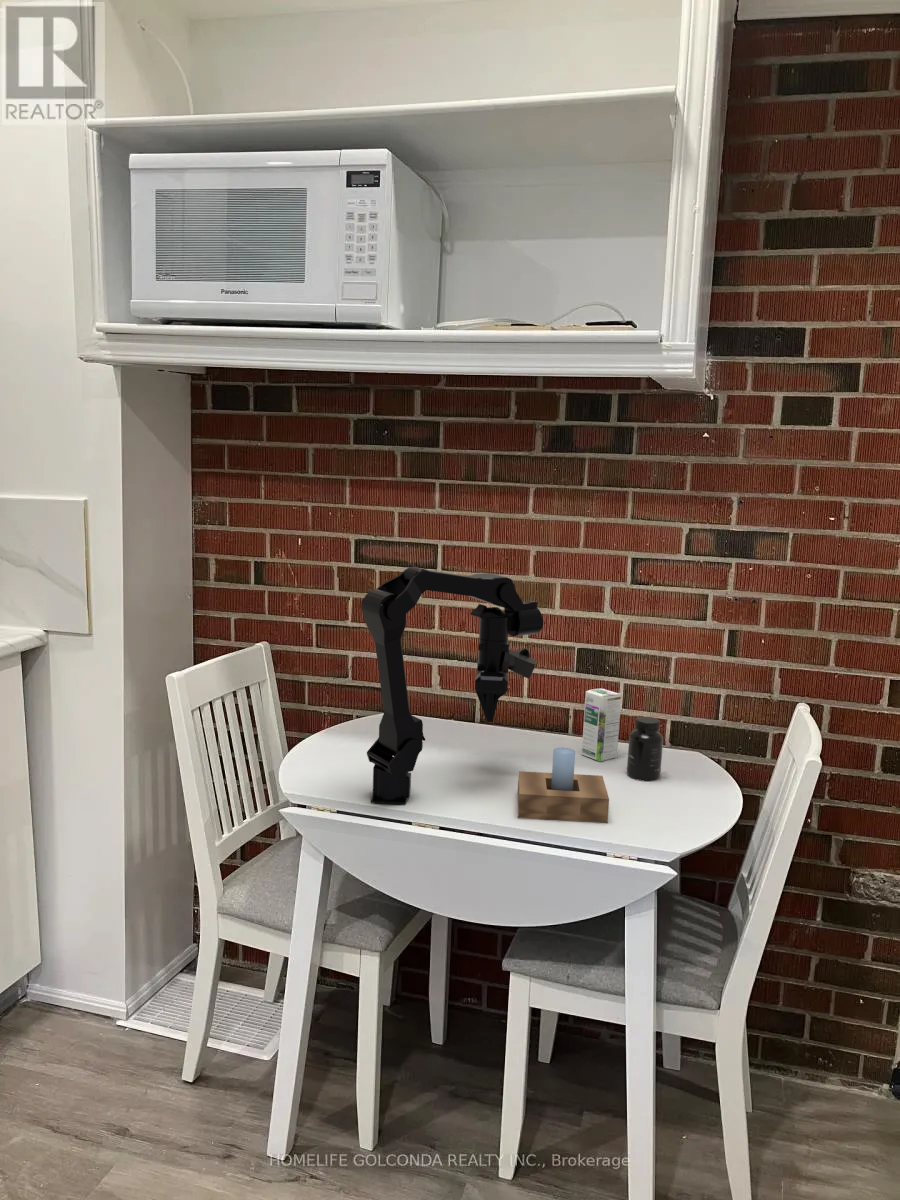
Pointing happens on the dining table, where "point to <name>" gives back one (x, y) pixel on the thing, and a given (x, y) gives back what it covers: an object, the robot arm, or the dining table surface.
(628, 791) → the dining table surface
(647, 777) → the supplement bottle
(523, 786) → the socket block
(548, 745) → the dining table surface
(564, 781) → the pin
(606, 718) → the syrup box
